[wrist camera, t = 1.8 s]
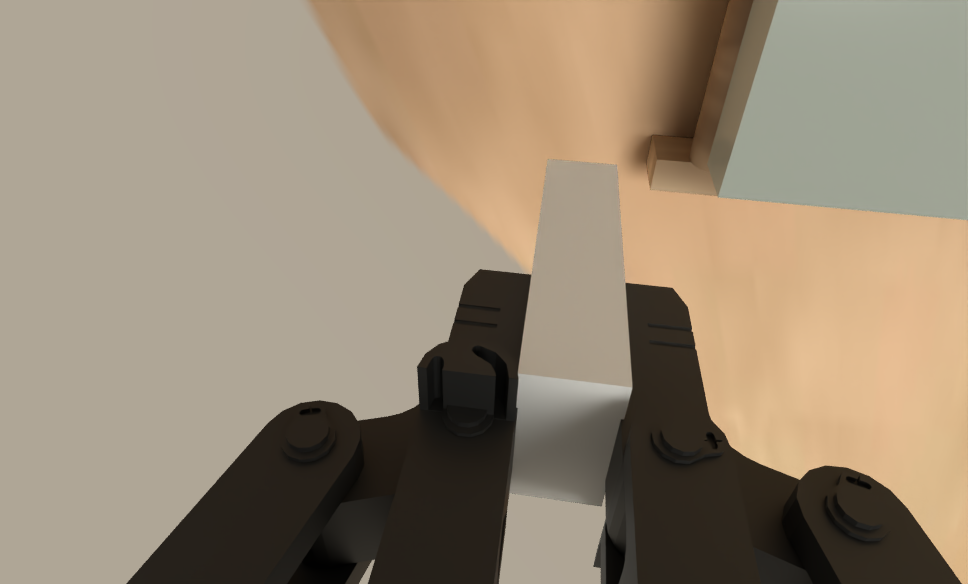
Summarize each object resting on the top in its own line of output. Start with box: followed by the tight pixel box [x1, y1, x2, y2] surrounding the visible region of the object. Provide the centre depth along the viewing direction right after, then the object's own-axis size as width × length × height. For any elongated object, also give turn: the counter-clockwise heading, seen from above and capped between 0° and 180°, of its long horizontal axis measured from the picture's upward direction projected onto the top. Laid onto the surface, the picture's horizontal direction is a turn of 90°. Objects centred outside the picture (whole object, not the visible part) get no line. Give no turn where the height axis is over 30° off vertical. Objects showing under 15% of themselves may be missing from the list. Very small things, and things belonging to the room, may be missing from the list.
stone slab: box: [707, 0, 968, 220], centre depth 21 cm, size 10×12×3 cm
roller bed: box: [646, 0, 753, 196], centre depth 24 cm, size 14×22×4 cm, turn 88°
